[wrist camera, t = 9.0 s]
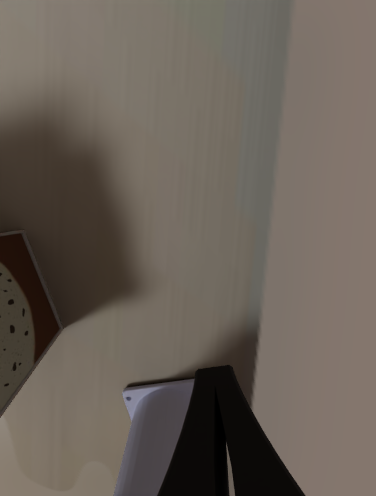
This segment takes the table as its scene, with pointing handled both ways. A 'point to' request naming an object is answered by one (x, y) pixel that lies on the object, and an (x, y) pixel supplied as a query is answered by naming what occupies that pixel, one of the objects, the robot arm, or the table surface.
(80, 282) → the table surface
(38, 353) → the food container
